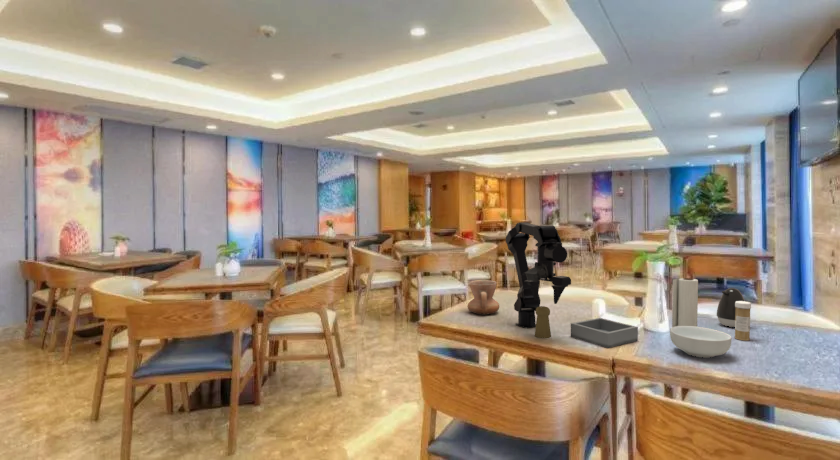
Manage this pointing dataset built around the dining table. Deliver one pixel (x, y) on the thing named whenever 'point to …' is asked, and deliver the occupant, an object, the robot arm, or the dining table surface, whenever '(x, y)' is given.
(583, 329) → the tray
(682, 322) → the grey tall block
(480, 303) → the ceramic jug
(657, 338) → the dining table surface
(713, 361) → the dining table surface
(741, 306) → the sprinkles bottle
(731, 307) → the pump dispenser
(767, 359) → the dining table surface
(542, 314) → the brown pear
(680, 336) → the cereal bowl
